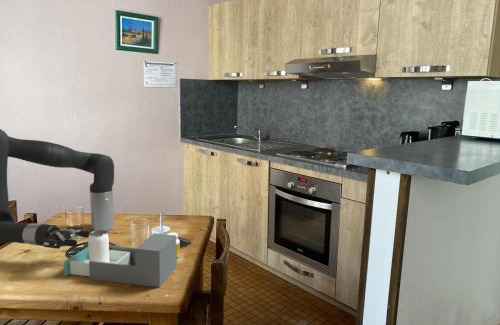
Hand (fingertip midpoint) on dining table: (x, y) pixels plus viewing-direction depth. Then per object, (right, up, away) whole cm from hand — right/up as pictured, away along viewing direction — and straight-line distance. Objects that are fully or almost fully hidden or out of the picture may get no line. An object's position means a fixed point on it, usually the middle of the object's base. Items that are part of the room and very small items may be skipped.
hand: (84, 238), depth 133 cm
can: (+5, -10, 0) cm, 11 cm away
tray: (+6, -11, +1) cm, 12 cm away
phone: (+25, -7, +27) cm, 38 cm away
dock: (+18, -11, -1) cm, 21 cm away
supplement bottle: (+28, -10, +11) cm, 31 cm away
